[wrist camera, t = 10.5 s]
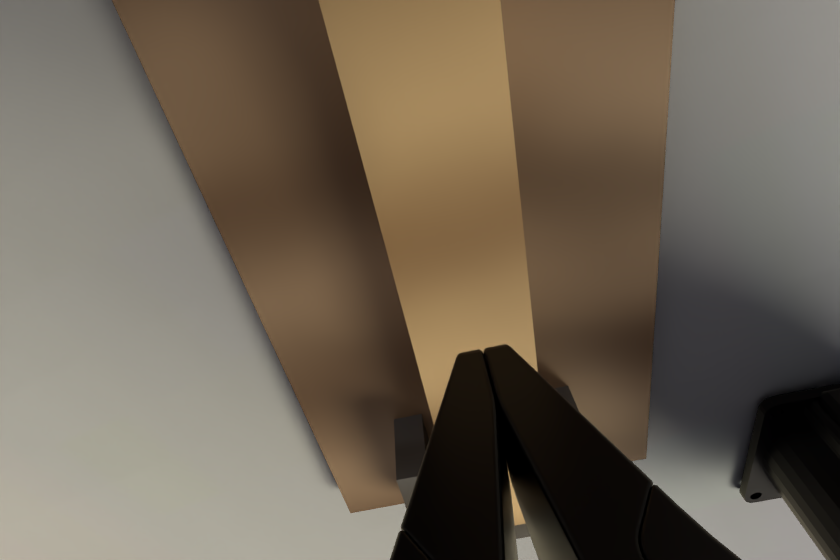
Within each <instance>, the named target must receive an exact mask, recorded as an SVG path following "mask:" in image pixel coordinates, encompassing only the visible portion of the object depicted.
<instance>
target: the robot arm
mask: <svg viewBox="0 0 840 560" xmlns="http://www.w3.org/2000/svg"><path fill="white" fill-rule="evenodd" d="M508 472H509V474H508ZM509 476H510V479H511V483H512V486H513V489H514V492H515V495H516V498H517V501H518V503H519V506H520V509H521V512H522V514H523V517H524V520H525V523H526V525H527V528H528V531H529V534H530V537H531V539H532V542H533V545H534V548H535V550H536V553H537V556H538V559H539V560H741V559H740V558H739V557H738V556H736V555H735V554H734V553H733V552H731V551H730V550H729V549H728V548H726V547H725V546H724V545H723V544H722V543H720V542H719V541H718V540H717V539H715V538H714V537H713V536H712V535H711V534H709V533H708V532H707V531H706V530H705V529H704V528H703V527H702V526H701V525H699V524H698V523H697V522H696V521H695V520H694V519H693V518H692V517H690V516H689V515H688V514H687V513H686V512H685V511H684V510H683V509H682V508H680V507H679V506H678V505H677V504H676V503H675V502H674V501H673V500H672V499H671V498H670V497H669V496H668V495H667V494H666V493H665V492H664V491H663V490H661V489H660V488H659V487H658V486H657V485H653V482H652V480H651V479H650V478H648V477H647V476H646V475H645V474H644V473H643V472H642V471H641V470H640V469H639V468H638V467H637V466H636V465H635V464H634V463H633V462H632V461H631V460H630V459H628V458H627V457H626V456H625V455H624V454H623V453H622V452H621V451H620V450H619V449H618V448H617V447H616V446H615V445H614V444H613V443H612V442H611V441H609V440H608V439H607V438H606V437H605V436H604V435H603V434H602V433H601V432H600V431H599V430H598V429H597V428H596V427H595V426H594V425H593V424H592V423H591V422H589V421H588V420H587V419H586V418H585V417H584V416H583V415H582V414H581V413H580V412H579V411H578V410H577V409H576V408H575V407H574V406H573V405H572V404H571V403H569V402H568V401H567V400H566V399H565V398H564V397H563V396H562V395H561V394H560V393H559V392H558V391H557V390H556V389H555V388H554V387H553V386H552V385H550V384H549V383H548V382H547V381H546V380H545V379H544V378H543V377H542V376H541V375H540V374H539V373H538V372H537V371H536V370H535V369H534V368H533V367H532V366H530V365H529V364H528V363H527V362H526V361H525V360H524V359H523V358H522V357H521V356H520V355H519V354H518V353H517V352H516V351H515V350H514V349H513V348H512V347H510V346H509V345H507V344H503V345H497V346H492V347H487V348H485V349H484V351H483V352H482V351H481V350H480V349H477V350H472V351H467V352H462V353H459V354H458V355H457V357H456V359H455V362H454V365H453V369H452V372H451V375H450V378H449V381H448V384H447V387H446V390H445V393H444V396H443V399H442V402H441V405H440V408H439V411H438V415H437V418H436V421H435V424H434V427H433V430H432V433H431V436H430V439H429V442H428V445H427V448H426V451H425V454H424V457H423V461H422V464H421V467H420V470H419V473H418V476H417V479H416V482H415V485H414V488H413V491H412V494H411V497H410V500H409V503H408V507H407V510H406V513H405V516H404V519H403V522H402V525H401V529H402V531H400V532H399V533H398V536H397V539H396V542H395V546H394V549H393V552H392V555H391V558H390V560H518V555H517V545H516V535H515V525H514V515H513V505H512V495H511V488H510V480H509ZM740 493H741V495H742V497H743V498H744V500H745V501H746V502H749V503H753V502H759V501H765V500H770V499H776V498H783V500H784V501H785V502H786V504H787V505H788V507H789V508H790V509H791V511H792V512H793V514H794V515H795V516H796V518H797V519H798V521H799V522H800V524H801V525H802V526H803V528H804V529H805V531H806V532H807V533H808V535H809V536H810V538H811V539H812V540H813V542H814V543H815V545H816V546H817V548H818V549H819V550H820V552H821V553H822V555H823V556H824V557H825V559H826V560H840V384H837V385H832V386H826V387H821V388H816V389H810V390H805V391H800V392H794V393H789V394H784V395H778V396H773V397H770V398H767V399H766V400H764V401H763V402H762V403H761V404H760V405H759V407H758V412H757V416H756V420H755V425H754V429H753V434H752V438H751V442H750V447H749V451H748V455H747V460H746V464H745V469H744V473H743V477H742V482H741V486H740Z"/></svg>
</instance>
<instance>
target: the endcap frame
mask: <svg viewBox="0 0 840 560" xmlns="http://www.w3.org/2000/svg"><path fill="white" fill-rule="evenodd" d="M112 2H113V4H114V6H115V8H116V10H117V12H118V14H119V17H120V19H121V21H122V23H123V25H124V27H125V30H126V32H127V34H128V36H129V38H130V40H131V42H132V45H133V47H134V49H135V51H136V53H137V55H138V57H139V60H140V62H141V64H142V66H143V68H144V70H145V72H146V75H147V77H148V79H149V81H150V83H151V85H152V87H153V90H154V92H155V94H156V96H157V98H158V100H159V103H160V105H161V107H162V109H163V111H164V113H165V115H166V118H167V120H168V122H169V124H170V126H171V128H172V130H173V133H174V135H175V137H176V139H177V141H178V143H179V145H180V148H181V150H182V152H183V154H184V156H185V158H186V161H187V163H188V165H189V167H190V169H191V171H192V173H193V176H194V178H195V180H196V182H197V184H198V186H199V188H200V191H201V193H202V195H203V197H204V199H205V201H206V203H207V206H208V208H209V210H210V212H211V214H212V216H213V218H214V221H215V223H216V225H217V227H218V229H219V231H220V234H221V236H222V238H223V240H224V242H225V244H226V246H227V249H228V251H229V253H230V255H231V257H232V259H233V261H234V264H235V266H236V268H237V270H238V272H239V274H240V276H241V279H242V281H243V283H244V285H245V287H246V289H247V292H248V294H249V296H250V298H251V300H252V302H253V304H254V307H255V309H256V311H257V313H258V315H259V317H260V319H261V322H262V324H263V326H264V328H265V330H266V332H267V334H268V337H269V339H270V341H271V343H272V345H273V347H274V349H275V352H276V354H277V356H278V358H279V360H280V362H281V365H282V367H283V369H284V371H285V373H286V375H287V377H288V380H289V382H290V384H291V386H292V388H293V390H294V392H295V395H296V397H297V399H298V401H299V403H300V405H301V407H302V410H303V412H304V414H305V416H306V418H307V420H308V423H309V425H310V427H311V429H312V431H313V433H314V435H315V438H316V440H317V442H318V444H319V446H320V448H321V450H322V453H323V455H324V457H325V459H326V461H327V463H328V465H329V468H330V470H331V472H332V474H333V476H334V478H335V480H336V483H337V485H338V487H339V489H340V491H341V493H342V496H343V498H344V500H345V502H346V504H347V506H348V508H349V511H350V513H354V512H359V511H365V510H370V509H375V508H381V507H386V506H392V505H397V504H402V503H405V506H406V508H407V507H408V503H409V500H410V497H411V494H412V491H413V488H414V485H415V482H416V479H417V476H418V473H419V470H420V467H421V464H422V461H423V457H424V454H425V451H426V448H427V445H428V442H429V439H430V436H431V433H432V430H433V427H434V424H433V420H432V416H431V413H430V409H429V405H428V402H427V398H426V394H425V391H424V387H423V383H422V380H421V376H420V372H419V369H418V365H417V361H416V357H415V354H414V350H413V346H412V343H411V339H410V335H409V332H408V328H407V324H406V321H405V317H404V313H403V310H402V306H401V302H400V299H399V295H398V291H397V287H396V284H395V280H394V276H393V273H392V269H391V265H390V262H389V258H388V254H387V251H386V247H385V243H384V240H383V236H382V232H381V229H380V225H379V221H378V217H377V214H376V210H375V206H374V203H373V199H372V195H371V192H370V188H369V184H368V181H367V177H366V173H365V170H364V166H363V162H362V159H361V155H360V151H359V147H358V144H357V140H356V136H355V133H354V129H353V125H352V122H351V118H350V114H349V111H348V107H347V103H346V100H345V96H344V92H343V89H342V85H341V81H340V77H339V74H338V70H337V66H336V63H335V59H334V55H333V52H332V48H331V44H330V41H329V37H328V33H327V30H326V26H325V22H324V19H323V15H322V11H321V7H320V4H319V0H112ZM500 2H501V12H502V22H503V31H504V41H505V51H506V61H507V71H508V81H509V91H510V101H511V111H512V121H513V131H514V141H515V150H516V160H517V170H518V180H519V190H520V200H521V210H522V220H523V230H524V240H525V250H526V260H527V270H528V279H529V289H530V299H531V309H532V319H533V329H534V339H535V349H536V359H537V369H538V373H539V374H540V375H541V376H542V377H543V378H544V379H545V380H546V381H547V382H548V383H549V384H550V385H552V386H553V387H554V388H555V389H556V390H557V391H558V392H559V393H560V394H561V395H562V396H563V397H564V398H565V399H566V400H567V401H568V402H569V403H571V404H572V405H573V406H574V407H575V408H576V409H577V410H578V411H579V412H580V413H581V414H582V415H583V416H584V417H585V418H586V419H587V420H588V421H589V422H591V423H592V424H593V425H594V426H595V427H596V428H597V429H598V430H599V431H600V432H601V433H602V434H603V435H604V436H605V437H606V438H607V439H608V440H609V441H611V442H612V443H613V444H614V445H615V446H616V447H617V448H618V449H619V450H620V451H621V452H622V453H623V454H624V455H625V456H626V457H627V458H628V459H630V460H631V461H635V460H640V459H646V453H647V437H648V421H649V405H650V389H651V373H652V357H653V341H654V325H655V309H656V293H657V277H658V261H659V245H660V229H661V213H662V197H663V181H664V165H665V150H666V134H667V118H668V102H669V86H670V70H671V54H672V38H673V22H674V6H675V0H500ZM515 535H516V539H518V538H524V537H529V536H530V534H529V531H528V528H527V525H526V523H525V524H520V525H515Z"/></svg>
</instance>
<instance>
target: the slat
mask: <svg viewBox="0 0 840 560" xmlns="http://www.w3.org/2000/svg"><path fill="white" fill-rule="evenodd" d="M319 4H320V7H321V11H322V15H323V19H324V22H325V26H326V30H327V33H328V37H329V41H330V44H331V48H332V52H333V55H334V59H335V63H336V66H337V70H338V74H339V77H340V81H341V85H342V89H343V92H344V96H345V100H346V103H347V107H348V111H349V114H350V118H351V122H352V125H353V129H354V133H355V136H356V140H357V144H358V147H359V151H360V155H361V159H362V162H363V166H364V170H365V173H366V177H367V181H368V184H369V188H370V192H371V195H372V199H373V203H374V206H375V210H376V214H377V217H378V221H379V225H380V229H381V232H382V236H383V240H384V243H385V247H386V251H387V254H388V258H389V262H390V265H391V269H392V273H393V276H394V280H395V284H396V287H397V291H398V295H399V299H400V302H401V306H402V310H403V313H404V317H405V321H406V324H407V328H408V332H409V335H410V339H411V343H412V346H413V350H414V354H415V357H416V361H417V365H418V369H419V372H420V376H421V380H422V383H423V387H424V391H425V394H426V398H427V402H428V405H429V409H430V413H431V416H432V420H433V424H435V421H436V418H437V415H438V411H439V408H440V405H441V402H442V399H443V396H444V393H445V390H446V387H447V384H448V381H449V378H450V375H451V372H452V369H453V365H454V362H455V359H456V357H457V355H458V354H459V353H462V352H467V351H472V350H477V349H480V350H481V351H482V352H483V351H484V349H485V348H487V347H492V346H497V345H503V344H507V345H509V346H510V347H512V348H513V349H514V350H515V351H516V352H517V353H518V354H519V355H520V356H521V357H522V358H523V359H524V360H525V361H526V362H527V363H528V364H529V365H530V366H532V367H533V368H534V369H535V370H536V371H537V372H538V369H537V359H536V349H535V339H534V329H533V319H532V309H531V299H530V289H529V279H528V270H527V260H526V250H525V240H524V230H523V220H522V210H521V200H520V190H519V180H518V170H517V160H516V150H515V141H514V131H513V121H512V111H511V101H510V91H509V81H508V71H507V61H506V51H505V41H504V31H503V22H502V12H501V2H500V0H319ZM508 474H509V472H508ZM509 480H510V488H511V495H512V505H513V515H514V525H520V524H525V520H524V517H523V514H522V512H521V509H520V506H519V503H518V501H517V498H516V495H515V492H514V489H513V486H512V483H511V479H510V476H509Z"/></svg>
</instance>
